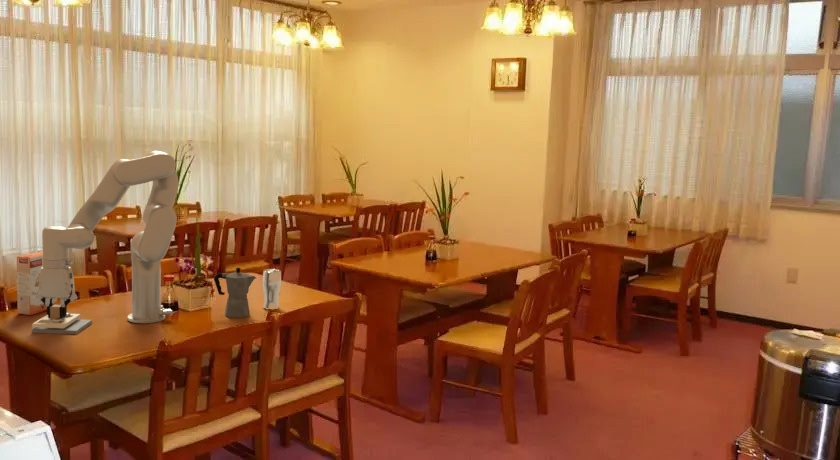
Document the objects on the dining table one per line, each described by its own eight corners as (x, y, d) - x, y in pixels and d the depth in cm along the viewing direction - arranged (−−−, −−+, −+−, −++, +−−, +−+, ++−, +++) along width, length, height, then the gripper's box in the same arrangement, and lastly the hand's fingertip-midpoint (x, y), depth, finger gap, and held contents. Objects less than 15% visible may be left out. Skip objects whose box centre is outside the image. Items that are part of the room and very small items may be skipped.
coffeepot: (257, 312, 270) (258, 266, 267) (252, 319, 260) (253, 271, 258) (216, 310, 269) (217, 264, 266) (210, 317, 260) (210, 269, 257)
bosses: (72, 320, 242) (71, 312, 242) (59, 328, 233) (59, 320, 232) (64, 320, 242) (64, 312, 242) (51, 328, 232) (51, 320, 232)
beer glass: (258, 308, 275) (259, 271, 272) (268, 305, 281) (269, 268, 279) (273, 311, 272) (274, 273, 270) (283, 307, 278) (284, 270, 276)
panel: (80, 317, 244) (80, 301, 243) (64, 328, 231) (63, 311, 230) (50, 316, 243) (50, 300, 242) (32, 327, 230) (31, 310, 230)
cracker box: (31, 316, 249) (30, 257, 246) (16, 314, 250) (15, 256, 247) (59, 306, 262) (58, 251, 259) (45, 305, 263) (43, 249, 260)
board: (92, 323, 244) (92, 319, 244) (76, 334, 232) (76, 330, 231) (50, 321, 243) (50, 318, 243) (32, 332, 231) (32, 329, 230)
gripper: (85, 262, 238) (86, 315, 241) (35, 260, 237) (37, 313, 240) (76, 266, 231) (77, 321, 234) (24, 264, 230) (26, 319, 233)
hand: (56, 317), depth 237 cm, fingers closed on panel, 3 cm apart
